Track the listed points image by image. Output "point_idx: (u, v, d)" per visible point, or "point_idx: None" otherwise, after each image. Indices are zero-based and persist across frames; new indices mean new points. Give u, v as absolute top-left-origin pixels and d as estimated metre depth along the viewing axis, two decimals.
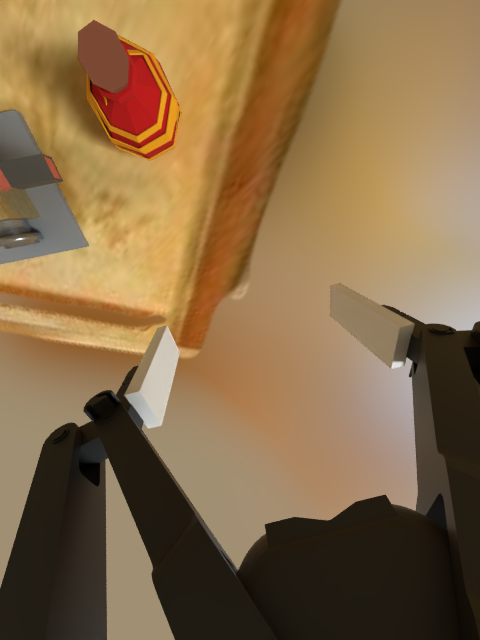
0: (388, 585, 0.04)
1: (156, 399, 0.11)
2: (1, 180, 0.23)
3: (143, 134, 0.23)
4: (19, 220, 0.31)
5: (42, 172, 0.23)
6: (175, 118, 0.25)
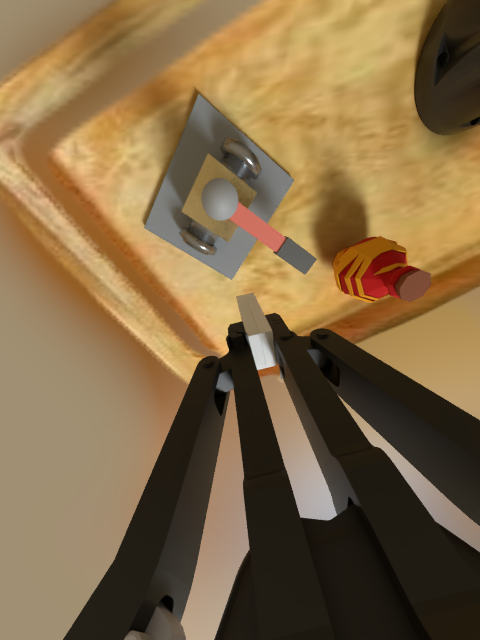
0: (388, 585, 0.04)
1: None
2: (275, 245, 0.25)
3: (367, 296, 0.31)
4: None
5: (304, 266, 0.27)
6: None
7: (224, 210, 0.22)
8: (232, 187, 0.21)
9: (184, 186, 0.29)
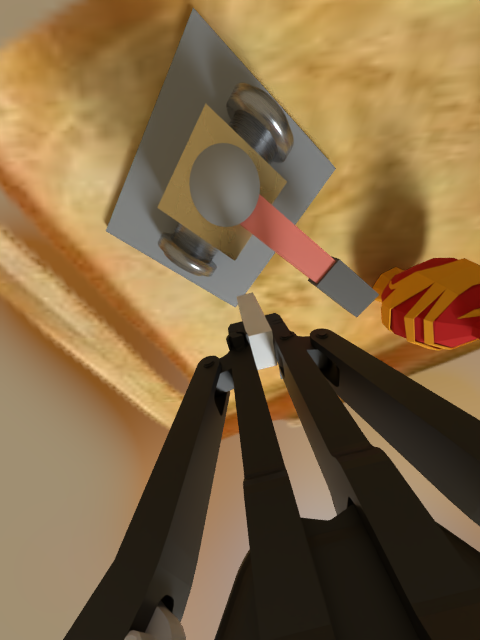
0: (388, 585, 0.04)
1: None
2: (316, 271, 0.15)
3: (437, 346, 0.21)
4: None
5: (357, 304, 0.16)
6: None
7: (232, 208, 0.12)
8: (250, 165, 0.11)
9: (168, 169, 0.19)
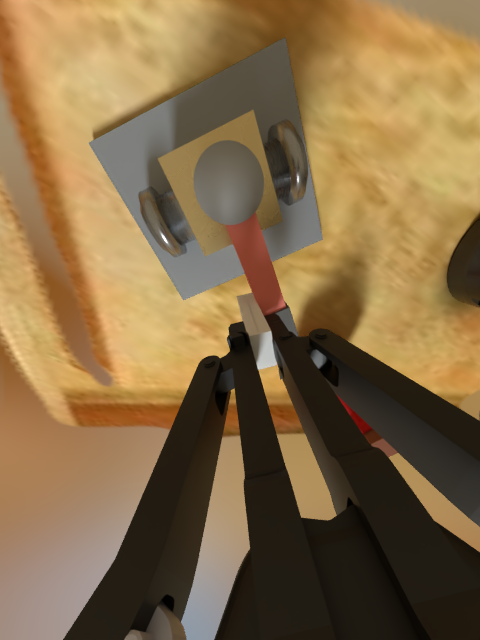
0: (388, 585, 0.04)
1: None
2: (267, 306, 0.16)
3: None
4: None
5: None
6: None
7: (226, 207, 0.12)
8: (260, 183, 0.11)
9: (190, 138, 0.18)
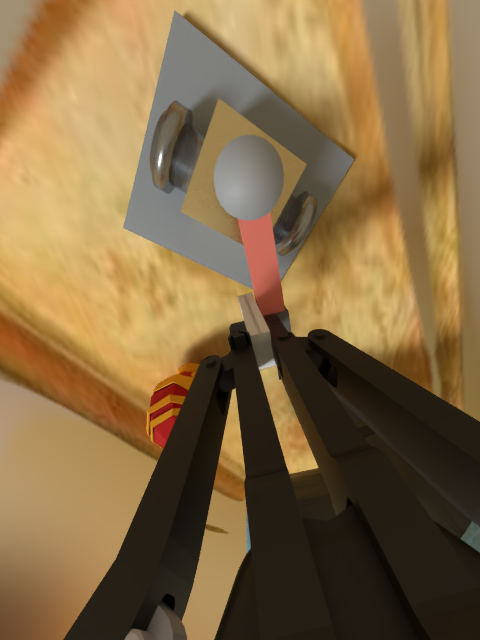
0: (388, 585, 0.04)
1: None
2: (266, 306, 0.16)
3: (151, 431, 0.23)
4: None
5: None
6: None
7: (243, 202, 0.12)
8: (280, 184, 0.12)
9: None
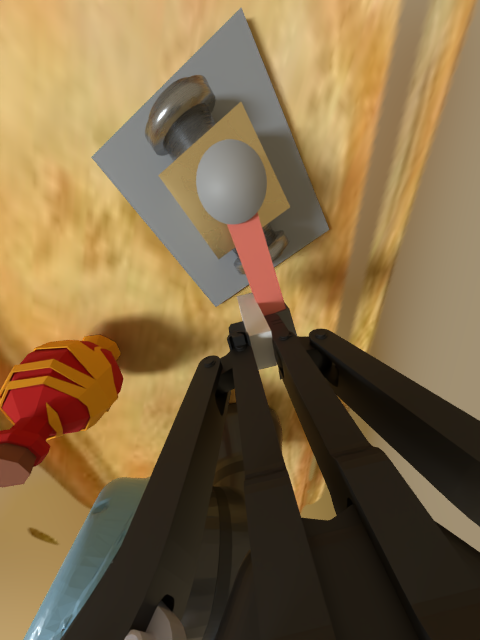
0: (388, 585, 0.04)
1: None
2: (266, 306, 0.16)
3: (4, 393, 0.18)
4: None
5: None
6: None
7: (228, 207, 0.12)
8: (263, 183, 0.11)
9: None
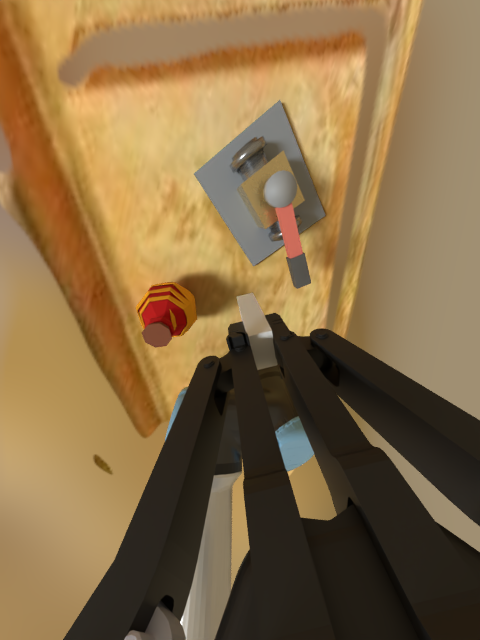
0: (388, 585, 0.04)
1: None
2: (293, 252, 0.30)
3: (146, 304, 0.32)
4: (244, 181, 0.31)
5: (300, 282, 0.32)
6: (140, 318, 0.35)
7: (279, 199, 0.26)
8: (295, 188, 0.26)
9: None
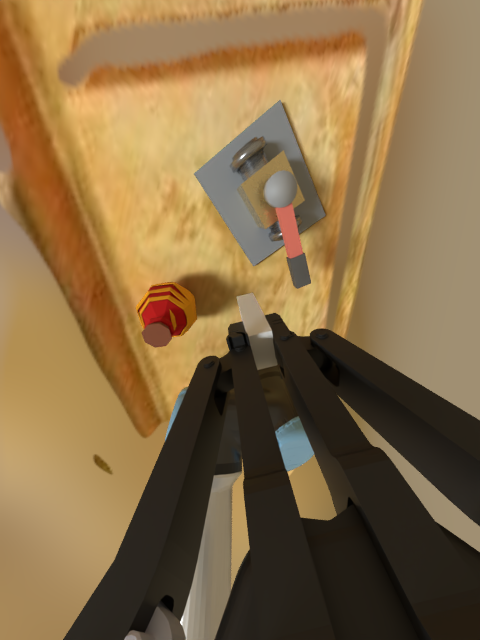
0: (388, 586, 0.04)
1: None
2: (293, 252, 0.30)
3: (146, 304, 0.32)
4: (244, 181, 0.31)
5: (300, 282, 0.32)
6: (140, 318, 0.35)
7: (279, 199, 0.26)
8: (295, 188, 0.26)
9: None
